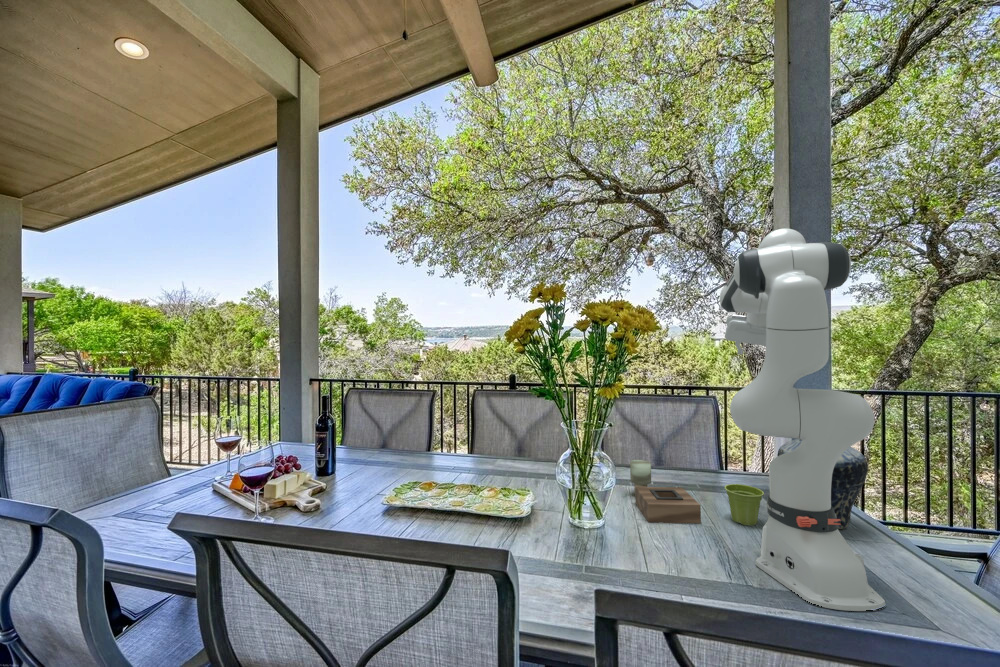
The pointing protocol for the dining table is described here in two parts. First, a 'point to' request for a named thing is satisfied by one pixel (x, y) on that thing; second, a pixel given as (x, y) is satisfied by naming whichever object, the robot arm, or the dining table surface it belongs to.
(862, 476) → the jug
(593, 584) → the dining table surface
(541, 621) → the dining table surface
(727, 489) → the plant pot
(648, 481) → the peg
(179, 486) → the dining table surface
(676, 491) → the hole block
